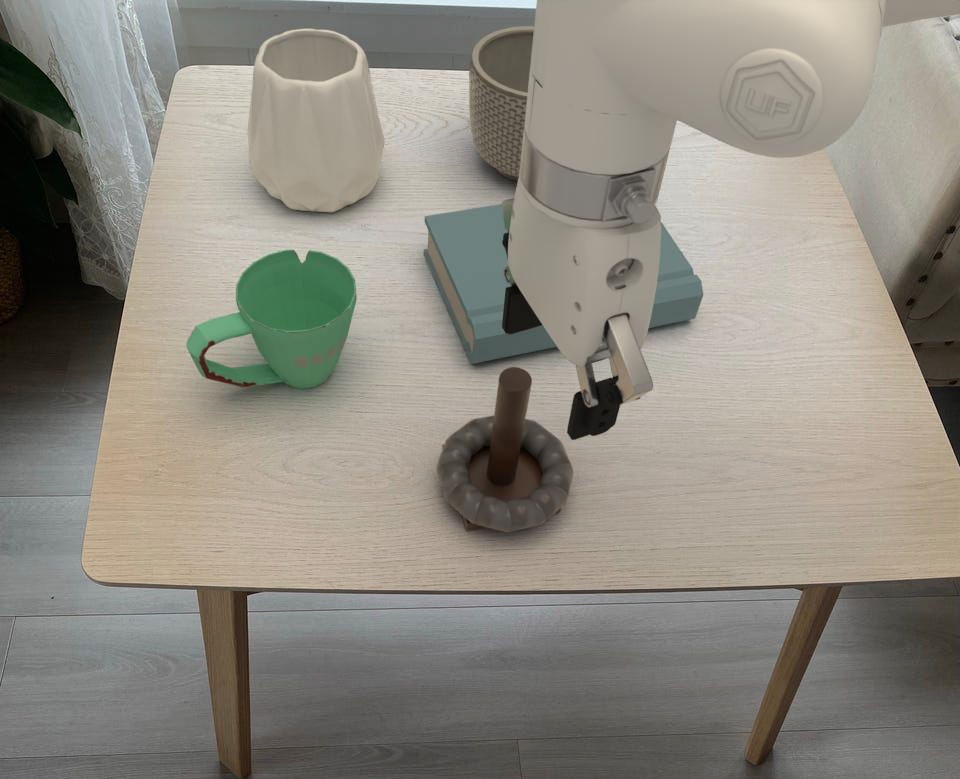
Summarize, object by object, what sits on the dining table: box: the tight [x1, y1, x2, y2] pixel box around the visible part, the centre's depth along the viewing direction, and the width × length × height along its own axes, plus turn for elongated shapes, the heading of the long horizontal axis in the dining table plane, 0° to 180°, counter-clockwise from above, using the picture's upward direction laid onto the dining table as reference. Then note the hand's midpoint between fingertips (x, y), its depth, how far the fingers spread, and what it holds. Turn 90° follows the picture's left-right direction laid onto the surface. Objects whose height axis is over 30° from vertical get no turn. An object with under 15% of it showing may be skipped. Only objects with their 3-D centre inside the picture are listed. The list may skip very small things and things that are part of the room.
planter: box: [468, 25, 534, 183], centre depth 102 cm, size 14×14×13 cm
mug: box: [185, 249, 358, 390], centre depth 81 cm, size 15×10×10 cm
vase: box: [247, 28, 386, 213], centre depth 97 cm, size 14×14×15 cm
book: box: [423, 203, 704, 365], centre depth 93 cm, size 23×16×5 cm
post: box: [441, 366, 562, 532], centre depth 74 cm, size 8×8×13 cm
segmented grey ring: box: [436, 415, 574, 533], centre depth 77 cm, size 11×11×2 cm
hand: (555, 376), depth 63 cm, fingers open, 9 cm apart
